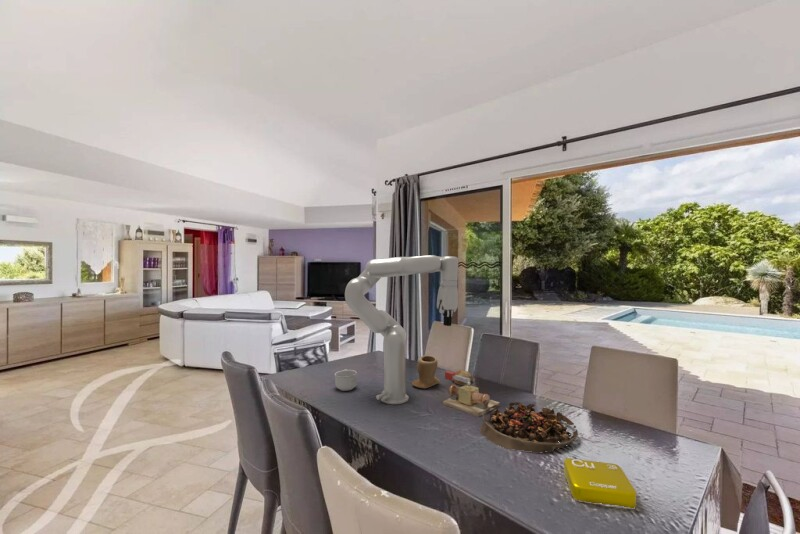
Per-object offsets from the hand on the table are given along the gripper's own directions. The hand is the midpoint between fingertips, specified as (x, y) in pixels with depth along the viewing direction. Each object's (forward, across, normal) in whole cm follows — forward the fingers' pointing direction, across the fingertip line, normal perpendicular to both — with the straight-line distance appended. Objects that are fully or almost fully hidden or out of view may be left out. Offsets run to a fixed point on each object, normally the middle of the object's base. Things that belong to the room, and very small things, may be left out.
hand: (447, 325), depth 165 cm
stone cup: (+34, -10, -19) cm, 41 cm away
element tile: (+33, +20, +69) cm, 80 cm away
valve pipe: (+32, -3, +11) cm, 34 cm away
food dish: (+34, +1, +39) cm, 52 cm away
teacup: (+36, +21, -45) cm, 61 cm away
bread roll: (+34, -27, -10) cm, 45 cm away
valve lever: (+25, -3, +5) cm, 25 cm away
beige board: (+34, -5, +11) cm, 36 cm away
